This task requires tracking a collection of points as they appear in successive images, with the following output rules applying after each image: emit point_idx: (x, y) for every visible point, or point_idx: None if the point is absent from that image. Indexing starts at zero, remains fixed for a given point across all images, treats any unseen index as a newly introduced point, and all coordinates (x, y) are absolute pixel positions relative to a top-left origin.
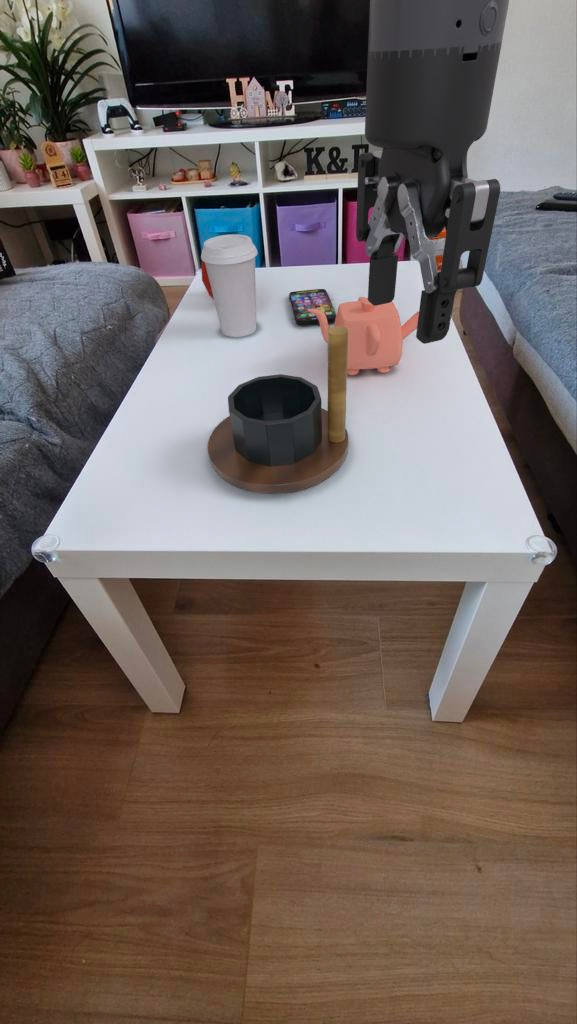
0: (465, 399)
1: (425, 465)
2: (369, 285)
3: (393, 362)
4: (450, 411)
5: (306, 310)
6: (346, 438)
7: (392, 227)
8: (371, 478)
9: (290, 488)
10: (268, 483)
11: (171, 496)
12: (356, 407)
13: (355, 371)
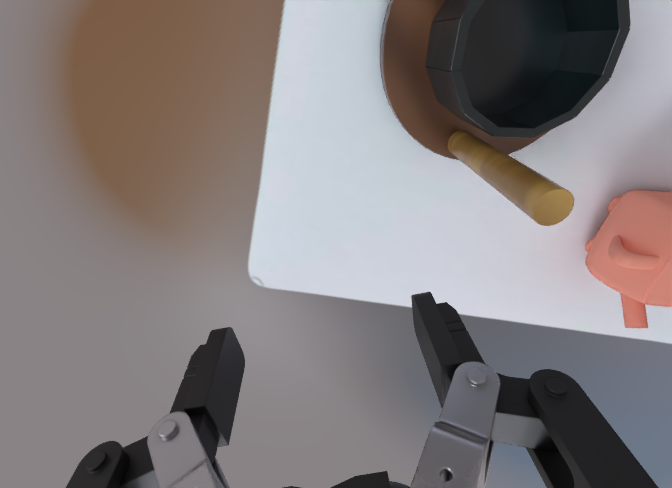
0: (480, 306)
1: (385, 232)
2: (435, 315)
3: (588, 260)
4: (467, 286)
5: None
6: (452, 156)
7: (377, 484)
8: (381, 167)
9: (381, 48)
10: (393, 11)
11: None
12: None
13: (612, 208)
